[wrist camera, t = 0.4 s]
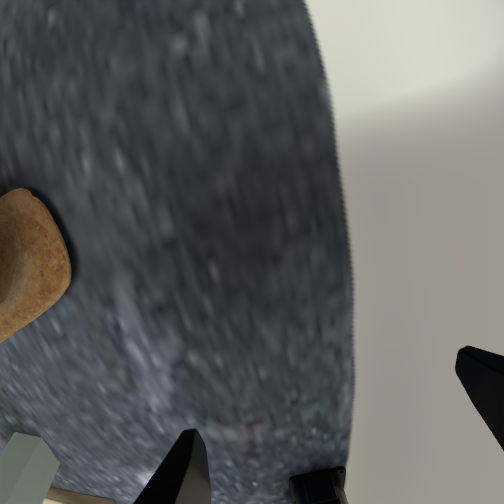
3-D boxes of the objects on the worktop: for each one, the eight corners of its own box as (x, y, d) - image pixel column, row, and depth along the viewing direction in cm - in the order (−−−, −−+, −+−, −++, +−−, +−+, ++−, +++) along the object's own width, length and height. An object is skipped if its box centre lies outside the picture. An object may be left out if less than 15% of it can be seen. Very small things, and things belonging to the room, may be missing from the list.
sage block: (60, 463, 28) (26, 543, 15) (33, 457, 28) (-4, 530, 14) (41, 437, 27) (-2, 520, 13) (14, 431, 27) (-30, 506, 13)
